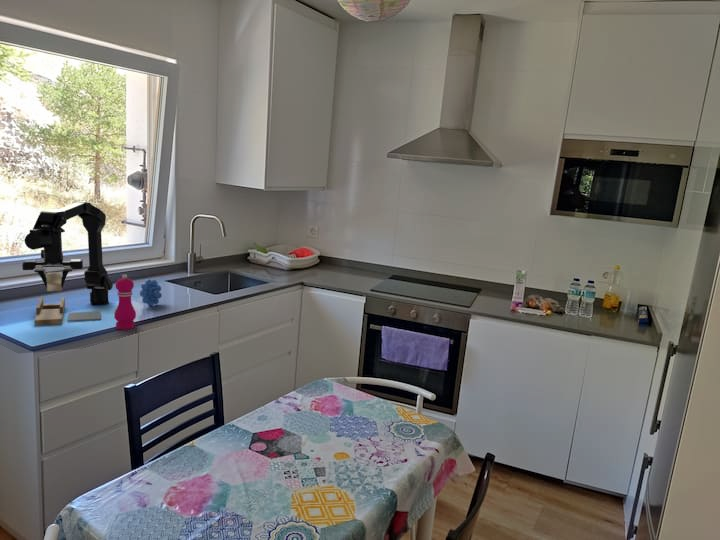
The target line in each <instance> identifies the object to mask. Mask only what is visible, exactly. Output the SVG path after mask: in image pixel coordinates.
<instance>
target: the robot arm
mask: <svg viewBox="0 0 720 540" xmlns="http://www.w3.org/2000/svg"><path fill="white" fill-rule="evenodd" d="M77 216H78V218H80V219H81V220H82V226H83V227H84V229H85V230H86V232H87V242H88V243H87V245H88V260H89V261H88V262H89V265H88V266H89V267H88V268H87V269H86V270H85V271H84V273H83V274H84V282H85V286H86V289H87V290H91V291H90V293H89V302H90V304H91V305H92V306H95V305H110V304H109V303H110V300H109V291H111V290H112V289H113V285H114V283H113V282H112V280H111V279H110V278H109V275H108V271H107V269H106V268H105V266H104V265H103V264H104V263H103V242H102V231H103V229H104V228H105V226H106V219H107V217H106V213H105V212H104V211H103V210H101V209H100V208H98V207H96V206H94V205H93V204H91V202H89V201H85V200H84V201H83V200H78V201H75V202H73V203H71V204H68V205H66V206H64V207H60V208H59V209H46V210H45V209H44V210H42V211H40V212H39V215H38V216H37V218H36V221H35V223H34V226H33V228H32V229H29V233H27V234H26V235H25V238H24V244H25V246H26V247H27V248H28V249H30V250H38V249H41V250H40V258H41V259H42V260H44V261H37V259H25V260H24V261H23V262H22V267H21V268H22V271H34V273H37V274H38V275H39V277H40V278H41V280H42V282H43V284H44V286H45V288H46V289H47V273H46V268H61V267H62V282H61V287H62V288H63V287H64V285H65V281H66V278H67V276H68V274H69V272H72V271H73V270H83V267H84V263H83V260H82V259H81V258H76V259H75V258H73V259H71V258H70V261H64V254H63V243H62V242H63V241H62V239H63V238H62V234H63V233H66V231H65V229H64V228H62V227H64V226H65V225H66V224H67V221H68V220H70V219H72V218H75V217H77Z"/></svg>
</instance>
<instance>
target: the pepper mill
mask: <svg viewBox="0 0 720 540" xmlns="http://www.w3.org/2000/svg"><path fill="white" fill-rule="evenodd" d="M134 284H135V283H134V281H133V280H132V279H131V278H128V275H127V274H126V273H124V274H122V275H121V278H119V279H118V280H117V281H116V283H115V288H116V290H117V296H118V303H117V307H116V308H115V309H116V310H115V311H114V317H113V318H114V319H115V321H117V322H115V328H116V329H118V330H131V329H134V328H135V326H136V325H135V324H136V323H135V321H134V320H135V319H136V317H137V314H136V309H135V308H134V306H133V303H132V296H133V291H132V290H133V289H134Z"/></svg>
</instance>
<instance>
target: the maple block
mask: <svg viewBox="0 0 720 540" xmlns="http://www.w3.org/2000/svg"><path fill="white" fill-rule="evenodd" d="M62 272H63V271H62ZM62 272H61V271H60V272H58V271H57V272H54V271H53V272H47V273H46V277H47V288H46V292H61V291H62V290H63V287H61V282H62Z"/></svg>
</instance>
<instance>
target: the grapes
mask: <svg viewBox="0 0 720 540" xmlns="http://www.w3.org/2000/svg"><path fill="white" fill-rule="evenodd" d="M140 288H141V289H142V290H140V291H139V295H140V297H142V299H141V301H142V303H144V304H146V305H147V306H148V307H153V305H158V304H159V302H160V301H159V300H160V299H161V298H162V296H163V295H162V292H161V291H162V287H161V285H159V283H158V281H157V280H156V279H146V281H145V282H144V283H142V284H141V285H140Z"/></svg>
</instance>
